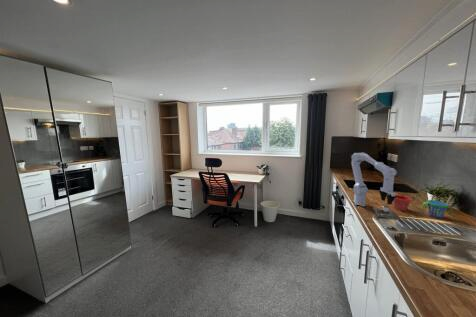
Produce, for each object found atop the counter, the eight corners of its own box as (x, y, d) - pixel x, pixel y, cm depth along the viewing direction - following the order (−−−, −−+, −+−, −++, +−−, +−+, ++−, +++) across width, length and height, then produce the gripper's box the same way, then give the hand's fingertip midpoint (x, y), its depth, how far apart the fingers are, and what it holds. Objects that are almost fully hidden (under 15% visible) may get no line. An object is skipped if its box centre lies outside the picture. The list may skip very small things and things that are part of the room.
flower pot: (406, 213, 139) (408, 200, 138) (389, 208, 148) (390, 196, 147) (411, 209, 145) (412, 197, 144) (393, 205, 154) (395, 193, 153)
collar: (372, 210, 145) (372, 205, 144) (390, 212, 141) (391, 207, 141) (378, 217, 134) (379, 212, 133) (398, 219, 130) (399, 214, 129)
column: (380, 213, 140) (381, 204, 139) (386, 213, 139) (387, 205, 138) (382, 215, 136) (383, 206, 135) (389, 215, 135) (390, 207, 134)
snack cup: (448, 215, 134) (450, 202, 133) (454, 221, 125) (456, 207, 124) (418, 210, 143) (420, 198, 141) (422, 216, 134) (424, 202, 133)
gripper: (376, 181, 142) (374, 198, 144) (388, 187, 128) (386, 205, 130) (386, 182, 140) (385, 198, 142) (399, 187, 126) (397, 206, 128)
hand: (386, 202), depth 136 cm, fingers open, 7 cm apart
